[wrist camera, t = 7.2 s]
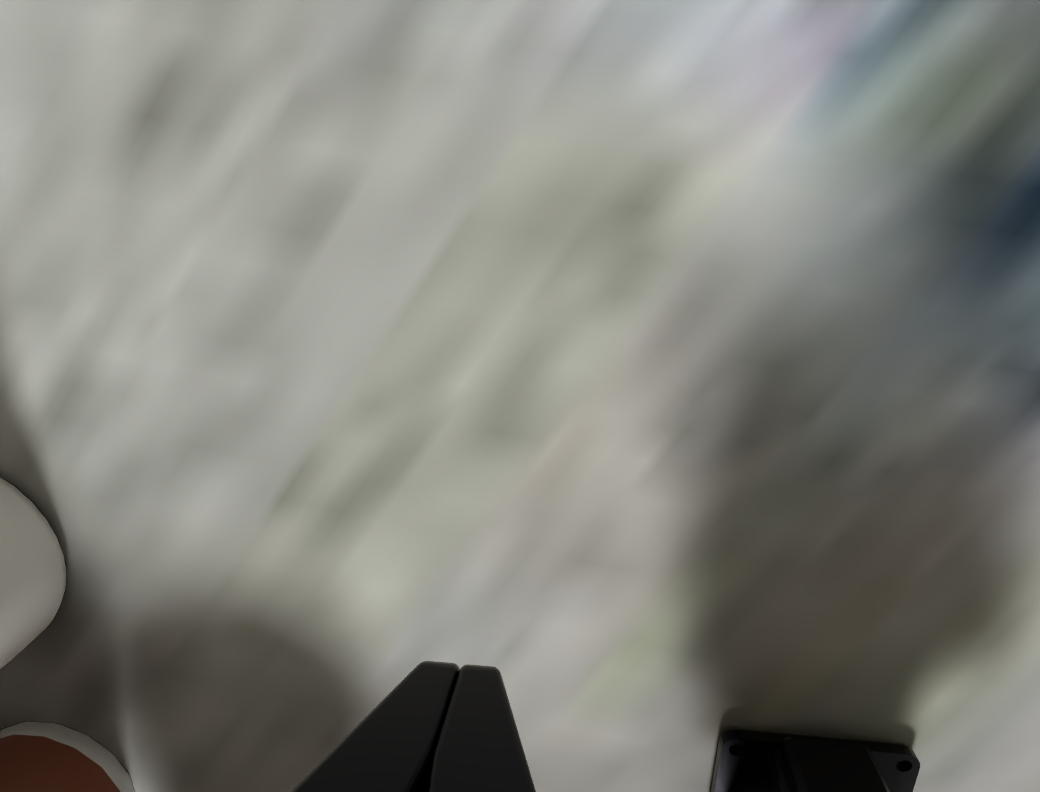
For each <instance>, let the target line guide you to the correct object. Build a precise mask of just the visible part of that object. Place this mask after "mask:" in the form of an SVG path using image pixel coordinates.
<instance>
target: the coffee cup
mask: <svg viewBox="0 0 1040 792" xmlns="http://www.w3.org/2000/svg"><path fill="white" fill-rule="evenodd" d="M0 792H134V789H133V785H132V782H131V778H130V776H129V775H128V773H127V772H126V771H125V769H124V768H123V767H122V765H121V764H120V763H119V761H118V760H117V759H116V757H115V756H114V755H113V754H112V753H111V752H110V751H108V750H107V749H106V748H104V747H103V746H101V745H100V744H99V743H97V742H96V741H94V740H93V739H92V738H90V737H89V736H88V735H86V734H83V733H80V732H78V731H75V730H72V729H70V728H67V727H64V726H62V725H59V724H56V723H42V722H27V721H26V722H23V723H20V724H17V725H14V726H11V727H7V728H4V729H2V730H1V731H0Z"/></svg>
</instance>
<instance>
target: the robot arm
mask: <svg viewBox="0 0 1040 792" xmlns="http://www.w3.org/2000/svg"><path fill="white" fill-rule="evenodd" d="M735 744H738V746H732V745H735ZM902 760H903V761H902ZM900 761H901V762H900ZM919 768H920V762H919V761H918V759H917V757H916V755H915V753H914V752H913V750H912V749H911V748H910V747H908V746H905V745H899V744H888V743H878V742H867V741H856V740H845V739H834V738H824V737H813V736H802V735H791V734H780V733H770V732H759V731H748V730H737V729H734V730H728V731H725V732H724V733H723V734H722V735H721V737H720V739H719V744H718V750H717V757H716V763H715V769H714V775H713V781H712V787H711V792H913V789H914V785H915V782H916V779H917V775H918V772H919ZM292 792H536V791H535V788H534V784H533V781H532V778H531V774H530V771H529V767H528V764H527V761H526V757H525V754H524V751H523V747H522V744H521V741H520V737H519V734H518V730H517V727H516V724H515V720H514V717H513V714H512V710H511V707H510V703H509V700H508V697H507V693H506V690H505V687H504V683H503V680H502V677H501V673H500V671H499V670H498V669H497V668H496V667H490V666H479V665H464V666H462V668H461V669H459V667H458V666H457V665H456V664H454V663H445V662H433V661H424V662H422V663H420V664H419V665H418V666H417V667H416V668H415V669H414V670H413V671H412V672H411V673H410V674H409V675H408V676H407V677H406V678H405V679H404V680H403V681H402V682H401V683H400V684H399V685H398V686H397V687H396V688H395V689H394V690H393V691H392V692H391V693H390V694H389V695H388V696H387V697H386V698H385V699H384V700H383V701H382V702H381V703H380V704H379V705H378V706H377V707H376V708H375V709H374V710H373V711H372V712H371V713H370V714H369V715H368V716H367V717H366V718H365V719H364V720H363V721H362V722H361V723H360V724H359V725H358V726H357V727H356V728H355V729H354V730H353V731H352V732H351V733H350V734H349V735H348V736H347V737H346V738H345V739H344V740H343V741H342V742H341V743H340V744H339V745H338V746H337V747H336V748H335V749H334V750H333V751H332V752H331V753H330V754H329V755H328V756H327V757H326V758H325V759H324V760H323V761H322V762H321V763H320V764H319V765H318V766H317V767H316V768H315V769H314V770H313V771H312V772H311V773H310V774H309V775H308V776H307V777H306V778H305V779H304V780H303V781H302V782H301V783H300V784H299V785H298V786H297V787H296V788H295V789H294V790H293V791H292Z"/></svg>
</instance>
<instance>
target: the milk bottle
mask: <svg viewBox="0 0 1040 792" xmlns="http://www.w3.org/2000/svg"><path fill="white" fill-rule="evenodd" d="M65 589H66V568H65V562H64V555H63V553H62V550H61V548H60V545H59V542H58V540H57V537H56V535H55V534H54V532H53V530H52V529H51V527H50V525H49V524H48V522H47V520H46V519H45V517H44V516H43V515H42V514H41V513H40V512H39V510H38V509H37V508H36V507H35V505H34V504H33V503H32V502H31V501H30V500H29V499H28V498H26V497H25V496H24V495H23V494H22V493H21V492H20V491H19V490H18V489H17V488H16V487H14V486H13V485H11V484H9V483H8V482H6V481H5V480H3V479H2V478H1V477H0V669H1V668H2V667H4V666H5V665H6V664H7V663H8V662H9V661H10V660H12V659H13V658H14V657H15V656H16V655H17V654H19V653H20V652H21V651H22V650H23V649H24V648H25V647H26V646H27V645H28V644H30V643H31V642H32V641H33V640H34V639H35V638H36V637H37V636H38V635H39V634H40V633H41V632H43V631H44V630H45V629H46V628H47V627H48V625H49V624H50V623H51V621H52V620H53V619H54V617H55V615H56V613H57V611H58V609H59V607H60V604H61V602H62V598H63V595H64V592H65Z"/></svg>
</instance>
